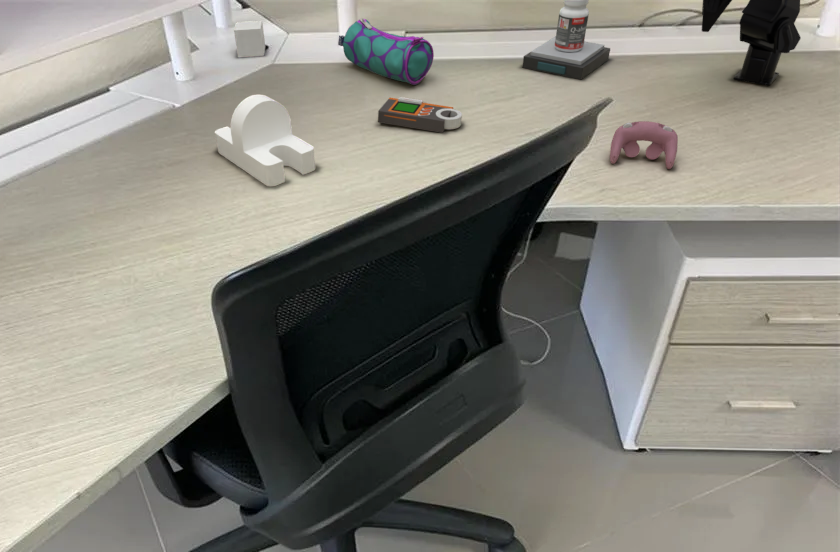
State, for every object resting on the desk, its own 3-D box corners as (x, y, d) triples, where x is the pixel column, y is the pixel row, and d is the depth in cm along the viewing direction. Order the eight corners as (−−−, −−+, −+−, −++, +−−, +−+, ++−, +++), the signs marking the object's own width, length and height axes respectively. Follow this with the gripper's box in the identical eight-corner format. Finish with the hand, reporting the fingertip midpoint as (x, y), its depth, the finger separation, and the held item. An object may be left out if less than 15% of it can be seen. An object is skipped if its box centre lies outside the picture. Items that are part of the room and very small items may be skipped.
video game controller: (671, 169, 113) (680, 124, 112) (674, 169, 109) (684, 123, 107) (606, 163, 116) (615, 119, 114) (607, 163, 112) (616, 117, 110)
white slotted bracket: (269, 188, 113) (261, 124, 106) (215, 151, 125) (205, 91, 118) (318, 168, 117) (313, 106, 110) (261, 134, 129) (253, 76, 122)
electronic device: (457, 121, 123) (376, 108, 127) (455, 137, 125) (376, 123, 129) (466, 106, 127) (388, 94, 132) (465, 121, 129) (388, 109, 134)
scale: (551, 49, 154) (553, 34, 152) (608, 59, 147) (611, 44, 145) (521, 68, 146) (523, 52, 144) (580, 80, 140) (582, 64, 137)
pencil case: (339, 67, 153) (336, 21, 146) (369, 56, 157) (368, 11, 150) (405, 92, 140) (405, 43, 134) (436, 80, 144) (438, 31, 138)
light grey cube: (265, 47, 165) (262, 20, 162) (263, 55, 161) (260, 28, 157) (240, 48, 166) (236, 21, 162) (237, 57, 161) (233, 30, 157)
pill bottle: (570, 55, 142) (578, 2, 135) (548, 48, 145) (555, -3, 139) (588, 47, 144) (597, -4, 138) (566, 41, 148) (573, -10, 141)
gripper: (679, -91, 122) (658, 5, 132) (676, -67, 109) (652, 37, 119) (751, -90, 118) (723, 8, 128) (756, -66, 105) (725, 42, 115)
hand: (704, 23), depth 123 cm, fingers open, 9 cm apart
